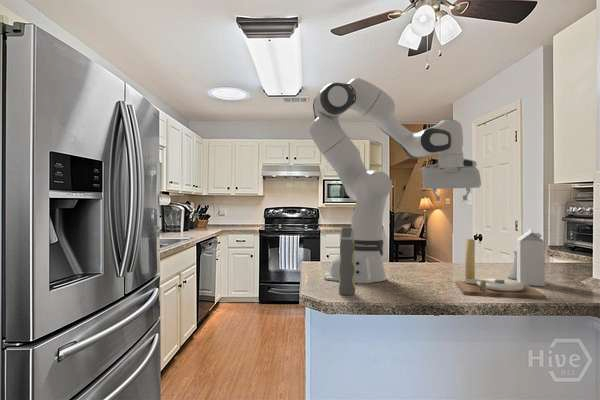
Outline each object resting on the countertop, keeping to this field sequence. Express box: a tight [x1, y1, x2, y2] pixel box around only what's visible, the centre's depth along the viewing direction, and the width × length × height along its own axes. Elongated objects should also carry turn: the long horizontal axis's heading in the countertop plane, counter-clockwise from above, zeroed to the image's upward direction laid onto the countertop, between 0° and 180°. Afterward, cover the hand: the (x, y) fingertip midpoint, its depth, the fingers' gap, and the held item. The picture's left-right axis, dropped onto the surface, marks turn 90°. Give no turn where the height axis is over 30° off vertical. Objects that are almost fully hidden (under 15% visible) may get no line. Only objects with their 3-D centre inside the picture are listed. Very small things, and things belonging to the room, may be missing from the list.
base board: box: [454, 280, 547, 300], centre depth 117 cm, size 22×16×4 cm
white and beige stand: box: [464, 238, 524, 291], centre depth 119 cm, size 17×13×14 cm
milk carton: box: [516, 227, 546, 287], centre depth 128 cm, size 7×7×19 cm
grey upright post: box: [338, 226, 356, 296], centre depth 112 cm, size 5×5×20 cm
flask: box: [506, 250, 517, 281], centre depth 137 cm, size 7×7×10 cm
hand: (451, 200), depth 140 cm, fingers open, 8 cm apart
